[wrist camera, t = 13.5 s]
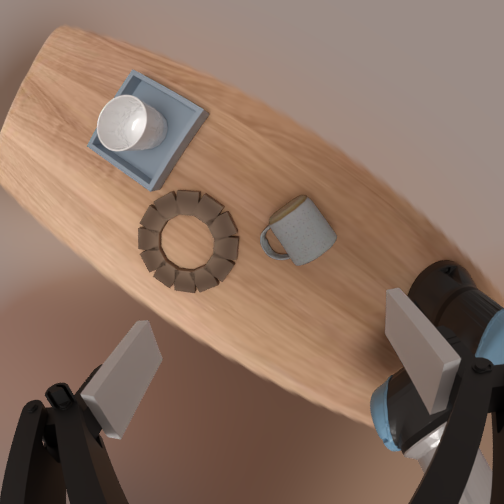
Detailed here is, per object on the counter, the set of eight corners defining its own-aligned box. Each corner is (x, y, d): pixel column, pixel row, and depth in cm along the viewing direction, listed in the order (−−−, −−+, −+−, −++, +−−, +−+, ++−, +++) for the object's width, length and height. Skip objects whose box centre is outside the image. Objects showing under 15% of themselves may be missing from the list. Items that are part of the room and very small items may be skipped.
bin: (209, 114, 42) (203, 109, 38) (160, 189, 46) (150, 191, 42) (142, 75, 41) (132, 69, 37) (99, 146, 45) (86, 146, 41)
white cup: (173, 105, 42) (149, 91, 32) (170, 152, 44) (144, 150, 34) (130, 109, 42) (99, 98, 32) (126, 154, 44) (95, 153, 35)
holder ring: (259, 230, 47) (258, 232, 46) (203, 307, 52) (201, 310, 50) (172, 170, 45) (170, 170, 44) (126, 252, 50) (123, 254, 49)
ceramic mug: (303, 189, 45) (308, 194, 37) (332, 230, 46) (342, 243, 39) (249, 229, 47) (244, 241, 40) (280, 268, 49) (280, 286, 42)
